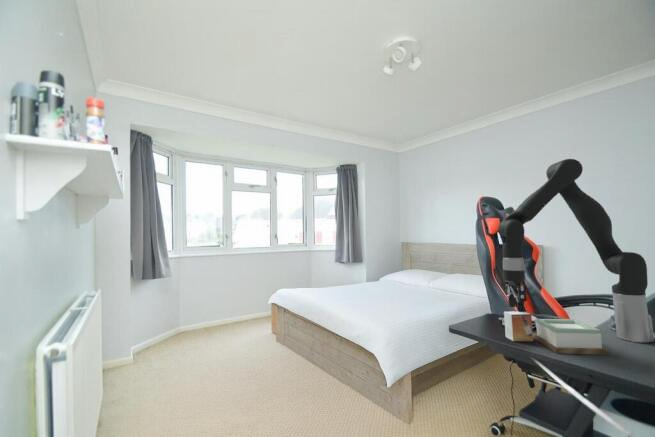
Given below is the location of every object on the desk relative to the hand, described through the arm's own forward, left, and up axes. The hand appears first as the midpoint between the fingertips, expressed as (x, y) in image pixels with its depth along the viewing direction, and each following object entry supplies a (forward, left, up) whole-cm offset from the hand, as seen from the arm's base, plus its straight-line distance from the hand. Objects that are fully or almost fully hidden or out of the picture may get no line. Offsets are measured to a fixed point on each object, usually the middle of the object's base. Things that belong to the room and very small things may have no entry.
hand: (516, 309), depth 122 cm
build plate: (-14, +6, -12) cm, 19 cm away
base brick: (-14, +6, -10) cm, 18 cm away
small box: (0, 0, -12) cm, 12 cm away
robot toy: (-7, -18, -12) cm, 23 cm away
